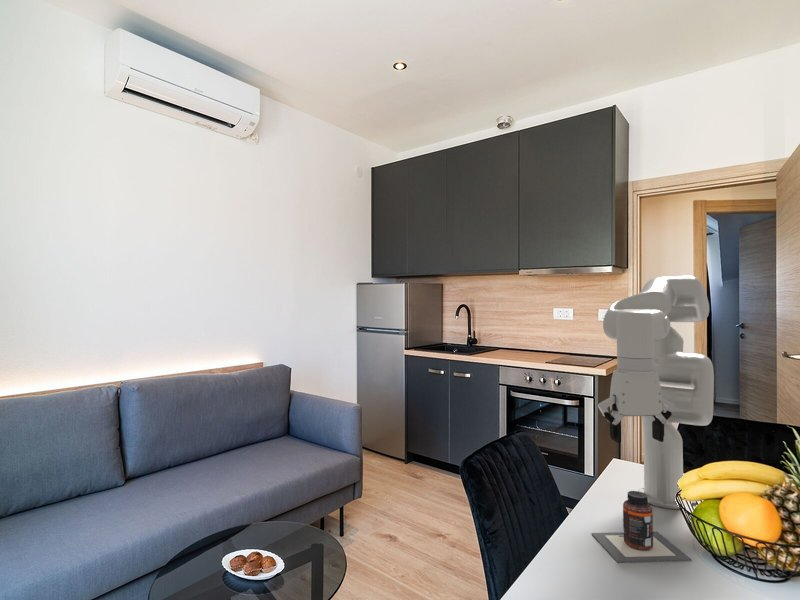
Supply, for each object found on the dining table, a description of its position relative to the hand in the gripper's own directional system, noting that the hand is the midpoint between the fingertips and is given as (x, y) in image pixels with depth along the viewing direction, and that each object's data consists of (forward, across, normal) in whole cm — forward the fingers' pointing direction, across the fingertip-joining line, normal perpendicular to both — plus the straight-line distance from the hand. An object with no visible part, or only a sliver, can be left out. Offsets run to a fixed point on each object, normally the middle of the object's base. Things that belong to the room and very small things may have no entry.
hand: (637, 440), depth 101 cm
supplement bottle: (+24, 0, 0) cm, 24 cm away
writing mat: (+24, 0, 0) cm, 24 cm away
